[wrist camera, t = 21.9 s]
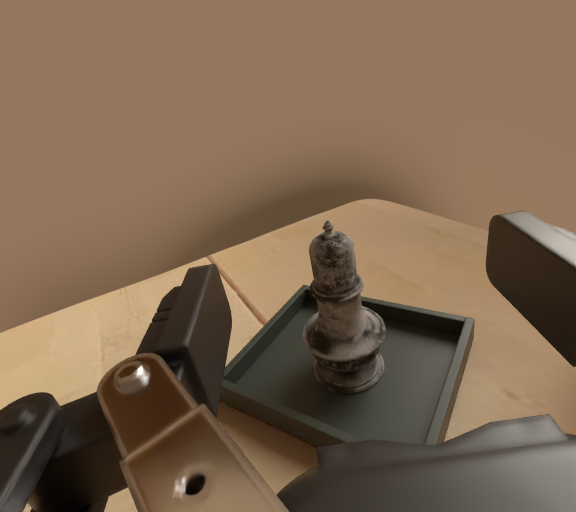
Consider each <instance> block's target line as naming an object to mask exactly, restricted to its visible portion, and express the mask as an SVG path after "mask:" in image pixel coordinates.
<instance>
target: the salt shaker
mask: <svg viewBox="0 0 576 512" xmlns="http://www.w3.org/2000/svg"><path fill="white" fill-rule="evenodd" d="M333 227H334V226H333V225H331V223H330V222H329V221H326V223H325V224H324V226H323V229H324V230H325V232H323V233H322V234H320V235H318V236H317V237H315V238H314V239H313V240H312V242H311V244H310V247H309V254H310V260H311V265H312V271H313V276H314V280H313V281H312V283H311V285H310V292H311V294H312V295H313V297H315V298H316V300H317V305H318V311H319V312H317V313H315V314H314V315H313V316H312V317H311V318H310V319H309V320H308V321H307V322H306V324H305V326H304V328H303V332H302V337H303V342H304V344H305V346H306V347H307V349H308V350H309V351H311V353H312V355H313V356H314V357H315V361H314V367H313V369H314V375H315V377H316V379H317V381H318V382H319V383H320V384H321V385H322V386H323V387H324V388H326V389H327V390H329V391H331V392H334V393H338V394H345V395H353V394H358V393H362V392H365V391H367V390H369V389H371V388H372V387H374V386H375V385H376V384H377V383H378V382H379V381H380V379H381V378H382V376H383V373H384V361H383V358H382V356H381V354H380V353H379V350H380V347H381V344H382V343H383V341H384V338H385V335H386V327H385V324H384V322H383V320H382V318H381V317H380V316H379V315H378V314H377V313H376V312H374V311H372V310H370V309H369V308H366V307H363V306H362V304H361V295H360V292H361V291H362V289H363V287H364V281H363V279H362V277H361V276H360V275H359V274H357V270H356V261H355V252H354V244H353V242H352V240H351V238H350V237H349V236H348V235H346V234H344V233H342V232H338V231H333V230H332V228H333Z"/></svg>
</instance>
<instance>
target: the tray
mask: <svg viewBox="0 0 576 512" xmlns="http://www.w3.org/2000/svg"><path fill="white" fill-rule="evenodd" d="M361 304H362V306H363V307H366V308H369V309H370V310H372V311H374V312H376V313H377V314H378V315H379V316H380V317H381V318H382V320H383V322H384V324H385V327H386V335H385V338H384V341H383V343H382V344H381V347H380V350H379V353H380V354H381V356H382V358H383V361H384V373H383V376H382V378H381V379H380V381H379V382H378V383H377V384H376V385H375V386H374V387H372V388H371V389H369V390H367V391H365V392H362V393H358V394H353V395H345V394H338V393H334V392H331V391H329V390H327V389H326V388H324V387H323V386H322V385H321V384H320V383H319V382H318V381H317V379H316V377H315V375H314V369H313V367H314V361H315V357H314V356H313V355H312V353H311V351H309V350H308V349H307V347H306V346H305V344H304V342H303V337H302V332H303V328H304V326H305V324H306V322H307V321H308V320H309V319H310V318H311V317H312V316H313V315H314V314H315V313H317V312H319V311H318V305H317V300H316V298H315V297H313V295H312V294H311V292H310V286H306V285H303V286H302V287H301V288H300V289H299V290H298V291H297V292H296V293H295V294H294V295H293V296H292V297H291V298H290V299H289V301H288V302H287V303H286V304H285V305H284V306H283V307H282V308H281V309H280V310H279V311H278V312H277V313H276V314H275V315H274V316H273V317H272V318H271V319H270V321H269V322H268V323H267V324H266V325H265V326H264V327H263V328H262V329H261V330H260V331H259V332H258V333H257V334H256V335H255V336H254V337H253V338H252V340H251V341H250V342H249V343H248V344H247V345H246V346H245V347H244V348H243V349H242V350H241V351H240V352H239V353H238V354H237V355H236V356H235V357H234V359H233V360H232V361H231V362H230V363H229V364H228V365H227V366H226V367H225V370H224V376H223V382H222V388H221V394H220V401H222V402H224V403H226V404H228V405H230V406H232V407H234V408H236V409H238V410H240V411H242V412H244V413H246V414H249V415H251V416H253V417H255V418H257V419H259V420H261V421H263V422H265V423H267V424H269V425H271V426H273V427H275V428H278V429H280V430H282V431H284V432H286V433H288V434H290V435H292V436H294V437H296V438H298V439H300V440H302V441H304V442H306V443H309V444H311V445H313V446H315V447H321V446H328V445H335V444H342V443H349V442H356V441H363V440H370V439H375V440H385V441H395V442H406V443H416V444H426V445H438V444H441V443H443V442H444V438H445V435H446V431H447V428H448V424H449V421H450V418H451V414H452V411H453V407H454V404H455V400H456V397H457V393H458V390H459V386H460V383H461V379H462V376H463V373H464V369H465V366H466V362H467V359H468V355H469V352H470V348H471V345H472V341H473V336H474V335H473V334H474V321H475V320H474V319H473V318H468V317H463V316H458V315H452V314H447V313H442V312H437V311H432V310H427V309H422V308H417V307H412V306H407V305H402V304H397V303H392V302H387V301H382V300H377V299H372V298H367V297H362V296H361Z"/></svg>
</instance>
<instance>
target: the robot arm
mask: <svg viewBox="0 0 576 512" xmlns="http://www.w3.org/2000/svg"><path fill="white" fill-rule="evenodd" d="M486 271H487V275H488V278H489V280H490V282H491V283H492V285H493V286H494V287H495V288H496V289H497V290H498V291H499V292H500V293H501V294H502V295H503V296H504V297H505V298H506V299H507V300H508V301H509V302H510V303H511V304H512V305H513V306H514V307H515V308H516V309H517V310H518V311H519V312H520V313H521V314H522V315H523V316H524V317H525V318H526V319H527V320H528V321H529V322H530V323H531V324H532V325H533V326H534V327H535V328H536V329H537V330H538V332H539V333H540V334H541V335H542V336H543V337H544V338H545V339H546V340H547V341H548V342H549V343H550V344H551V345H552V346H553V347H554V348H555V349H556V350H557V351H558V352H559V353H560V354H561V355H562V356H563V357H564V358H565V359H566V360H567V361H568V362H569V363H570V364H571V365H572V366H573V367H575V366H576V235H575V234H574V233H572V232H570V231H568V230H566V229H562V228H559V227H556V226H552V225H549V224H547V223H545V222H543V221H542V220H540V219H538V218H537V217H535V216H533V215H532V214H530V213H528V212H526V211H517V212H512V213H506V214H500V215H495V216H494V217H492V219H491V221H490V225H489V234H488V245H487V256H486ZM231 328H232V316H231V310H230V306H229V303H228V299H227V296H226V293H225V290H224V287H223V284H222V280H221V277H220V274H219V271H218V268H217V266H216V265H215V264H210V265H204V266H198V267H193V268H189V269H188V271H187V273H186V276H185V278H184V281H183V283H182V285H181V286H178V287H174V288H173V289H172V290H171V291H170V292H169V293H168V294H167V295H166V296H165V297H164V298H162V301H161V303H160V305H159V307H158V309H157V313H155V315H154V317H153V319H152V323H150V326H149V328H148V330H147V332H146V334H145V336H144V338H143V340H142V342H141V344H140V346H139V348H138V350H137V353H136V355H135V356H132V357H129V358H127V359H125V360H123V361H121V362H120V363H118V364H117V365H115V366H114V367H113V368H112V369H110V370H109V371H108V372H107V373H106V374H105V376H104V377H103V378H102V380H101V381H100V383H99V385H98V388H97V392H95V393H93V394H90V395H88V396H85V397H83V398H80V399H78V400H75V401H72V402H70V403H67V404H65V405H62V406H60V405H59V404H58V402H57V401H56V400H55V398H54V397H53V396H52V395H51V394H49V393H44V392H40V393H34V394H30V395H27V396H25V397H22V398H20V399H18V400H16V401H14V402H12V403H10V404H9V405H7V406H6V407H4V408H3V409H1V410H0V512H23V510H24V508H25V506H26V504H27V503H28V504H29V505H30V506H31V507H32V509H31V511H30V512H104V509H105V506H106V503H107V500H108V497H109V496H110V495H112V494H115V493H117V492H119V491H121V490H123V489H125V488H127V487H129V490H130V492H131V495H132V498H133V500H134V503H135V505H136V508H137V510H138V512H576V435H571V434H564V433H563V432H562V430H561V429H560V428H559V426H558V425H557V424H556V423H555V421H554V420H553V419H552V417H551V416H550V415H549V414H546V415H539V416H531V417H524V418H517V419H510V420H503V421H496V422H490V423H488V424H485V425H483V426H481V427H478V428H476V429H474V430H472V431H469V432H467V433H465V434H462V435H460V436H458V437H455V438H453V439H451V440H448V441H446V442H444V443H441V444H438V445H426V444H416V443H406V442H395V441H385V440H375V439H370V440H363V441H356V442H349V443H342V444H335V445H328V446H321V447H317V456H318V465H319V466H317V467H315V468H313V469H310V470H308V471H307V472H305V473H303V474H302V475H300V476H298V477H297V478H295V479H294V480H293V481H291V482H290V483H289V484H288V485H286V486H285V487H284V488H283V489H282V490H281V491H280V492H279V493H278V494H277V495H276V494H275V493H274V492H273V490H272V489H271V488H270V487H269V485H268V484H267V483H266V481H265V480H264V479H263V478H262V476H261V475H260V474H259V473H258V471H257V470H256V469H255V467H254V466H253V465H252V464H251V462H250V461H249V460H248V459H247V457H246V456H245V455H244V453H243V452H242V451H241V450H240V448H239V447H238V446H237V444H236V443H235V442H234V441H233V439H232V438H231V437H230V436H229V434H228V433H227V432H226V430H225V429H224V428H223V427H222V425H221V424H220V423H219V422H218V420H217V419H216V418H217V412H218V406H219V400H220V394H221V388H222V382H223V376H224V370H225V364H226V358H227V352H228V346H229V340H230V334H231Z"/></svg>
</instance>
